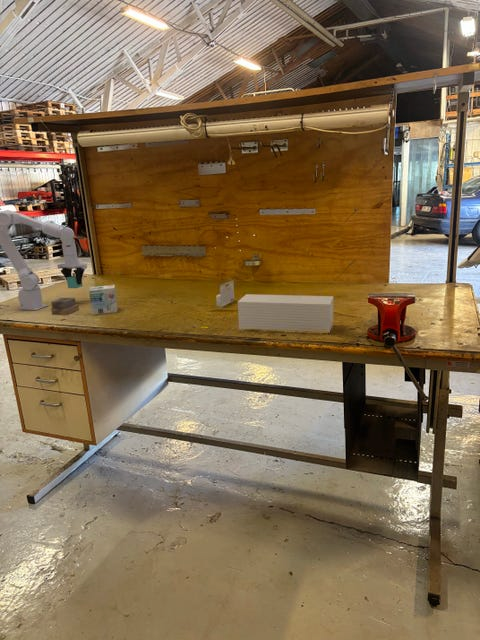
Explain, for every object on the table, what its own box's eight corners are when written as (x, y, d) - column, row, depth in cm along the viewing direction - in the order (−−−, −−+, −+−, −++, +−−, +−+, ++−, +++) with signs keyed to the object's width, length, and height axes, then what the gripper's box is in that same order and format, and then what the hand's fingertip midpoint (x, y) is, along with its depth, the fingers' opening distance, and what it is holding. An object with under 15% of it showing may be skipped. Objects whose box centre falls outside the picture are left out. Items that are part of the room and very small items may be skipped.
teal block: (68, 288, 208) (66, 277, 206) (74, 285, 212) (72, 275, 210) (76, 288, 206) (74, 277, 205) (82, 286, 210) (81, 275, 209)
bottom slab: (52, 315, 195) (50, 308, 194) (64, 310, 202) (62, 303, 201) (67, 316, 192) (66, 309, 192) (79, 310, 200) (78, 304, 199)
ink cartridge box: (216, 307, 192) (215, 284, 190) (230, 300, 201) (229, 279, 199) (221, 307, 191) (220, 285, 188) (235, 301, 200) (233, 279, 197)
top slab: (52, 308, 194) (51, 301, 193) (61, 304, 201) (60, 297, 200) (66, 308, 193) (65, 302, 192) (75, 304, 199) (74, 297, 198)
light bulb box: (92, 315, 190) (88, 290, 187) (92, 311, 197) (88, 287, 193) (118, 312, 193) (114, 287, 190) (117, 308, 199) (114, 284, 196)
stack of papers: (239, 330, 161) (237, 301, 158) (247, 321, 171) (246, 294, 168) (329, 335, 152) (330, 304, 149) (333, 325, 161) (333, 296, 158)
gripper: (89, 253, 206) (93, 282, 210) (62, 253, 210) (67, 281, 214) (79, 255, 200) (84, 285, 204) (52, 255, 204) (57, 285, 208)
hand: (75, 284), depth 209 cm, fingers closed on teal block, 5 cm apart
